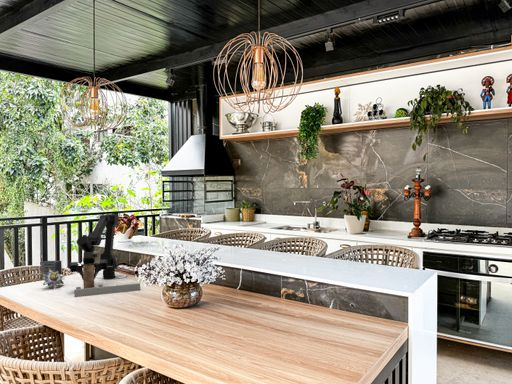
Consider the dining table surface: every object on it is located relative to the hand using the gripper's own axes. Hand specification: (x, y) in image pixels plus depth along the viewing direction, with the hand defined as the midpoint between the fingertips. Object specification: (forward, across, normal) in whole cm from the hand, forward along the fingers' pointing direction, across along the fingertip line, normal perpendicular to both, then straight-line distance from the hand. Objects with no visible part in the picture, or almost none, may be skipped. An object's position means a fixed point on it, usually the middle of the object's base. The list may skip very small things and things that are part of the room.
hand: (88, 279), depth 207 cm
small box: (-30, -24, +40) cm, 56 cm away
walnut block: (+4, 0, +6) cm, 7 cm away
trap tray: (+4, +10, +6) cm, 12 cm away
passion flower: (-10, -20, +21) cm, 31 cm away
